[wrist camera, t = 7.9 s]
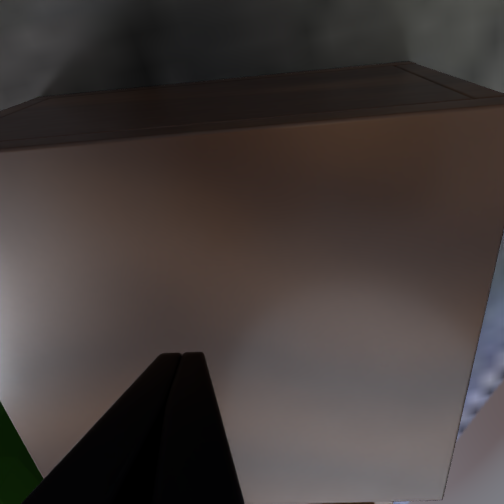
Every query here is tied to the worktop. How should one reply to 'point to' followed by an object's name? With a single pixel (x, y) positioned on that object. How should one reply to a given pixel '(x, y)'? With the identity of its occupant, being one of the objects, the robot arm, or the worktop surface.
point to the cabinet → (258, 266)
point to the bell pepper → (15, 464)
